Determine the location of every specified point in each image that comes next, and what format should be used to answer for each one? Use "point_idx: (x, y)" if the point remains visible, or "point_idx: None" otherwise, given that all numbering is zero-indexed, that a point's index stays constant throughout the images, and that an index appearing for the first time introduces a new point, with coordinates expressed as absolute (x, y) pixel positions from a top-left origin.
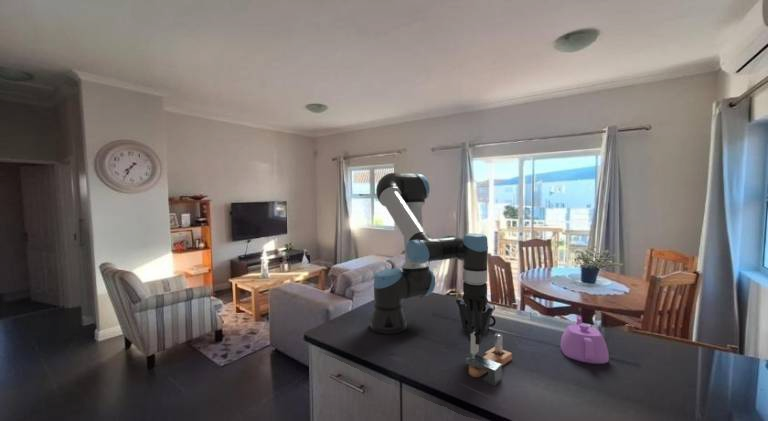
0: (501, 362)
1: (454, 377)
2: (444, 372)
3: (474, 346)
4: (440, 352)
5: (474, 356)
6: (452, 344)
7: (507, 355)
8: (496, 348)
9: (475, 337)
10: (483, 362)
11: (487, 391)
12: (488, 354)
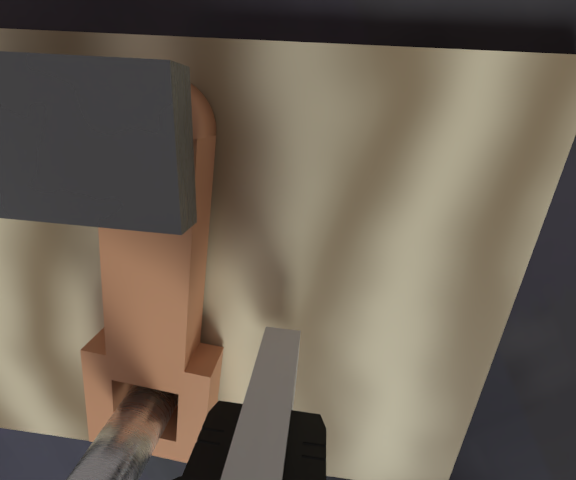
0: (100, 337)
1: (304, 30)
2: (403, 43)
3: (254, 375)
4: (539, 292)
5: (138, 190)
6: (491, 418)
7: (90, 408)
8: (122, 429)
9: (228, 467)
10: (3, 127)
11: (48, 27)
12: (179, 365)
